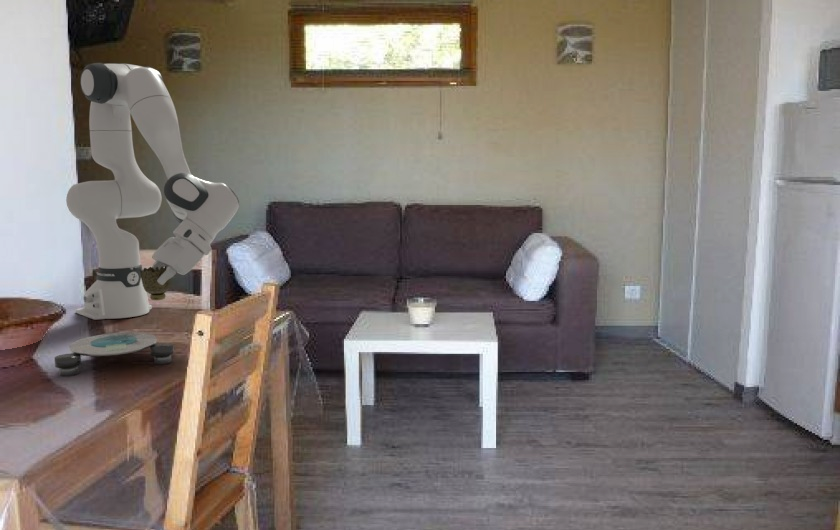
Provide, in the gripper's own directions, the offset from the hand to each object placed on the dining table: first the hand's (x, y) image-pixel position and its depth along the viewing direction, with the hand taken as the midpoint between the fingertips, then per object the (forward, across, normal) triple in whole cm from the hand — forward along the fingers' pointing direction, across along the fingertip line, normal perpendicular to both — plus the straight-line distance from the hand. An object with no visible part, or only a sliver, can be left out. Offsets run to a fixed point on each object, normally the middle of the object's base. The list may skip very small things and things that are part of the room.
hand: (153, 280), depth 183 cm
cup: (+3, 0, +4) cm, 5 cm away
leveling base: (+21, +15, 0) cm, 26 cm away
